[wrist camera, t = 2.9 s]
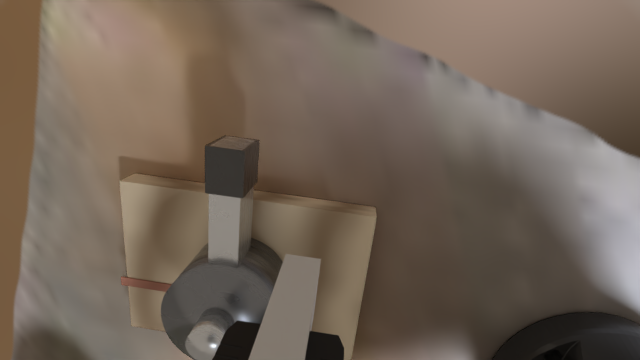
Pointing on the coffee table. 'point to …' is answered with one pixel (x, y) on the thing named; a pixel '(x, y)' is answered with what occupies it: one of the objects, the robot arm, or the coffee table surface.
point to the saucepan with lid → (223, 257)
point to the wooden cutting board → (267, 226)
